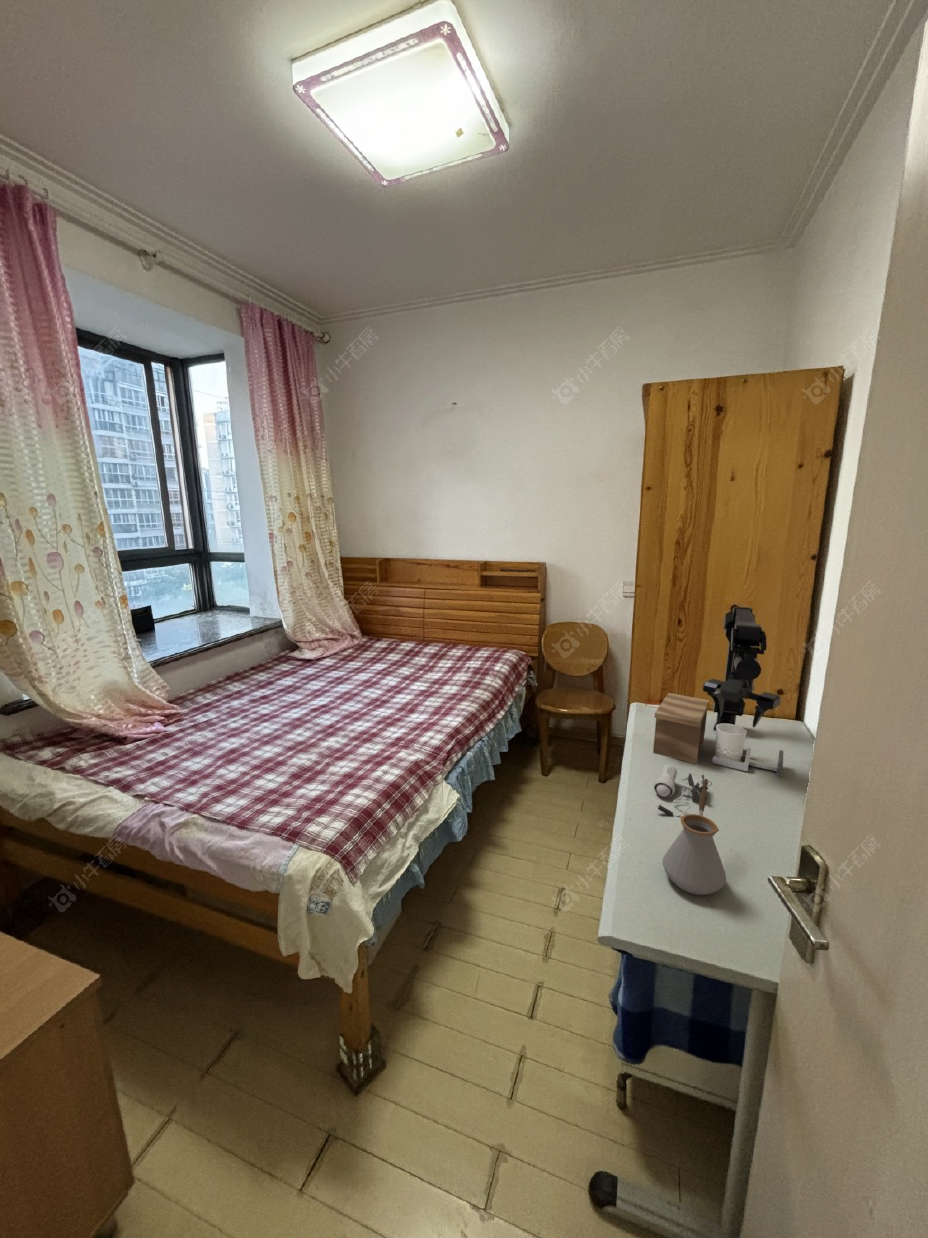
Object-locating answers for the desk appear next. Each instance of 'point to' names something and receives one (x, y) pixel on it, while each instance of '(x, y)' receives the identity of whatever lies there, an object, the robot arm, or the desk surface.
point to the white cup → (730, 741)
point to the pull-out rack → (750, 762)
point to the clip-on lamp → (667, 788)
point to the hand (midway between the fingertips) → (736, 721)
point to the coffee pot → (696, 854)
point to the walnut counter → (680, 727)
